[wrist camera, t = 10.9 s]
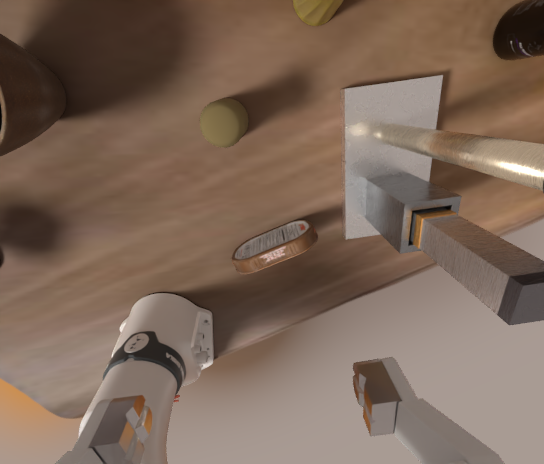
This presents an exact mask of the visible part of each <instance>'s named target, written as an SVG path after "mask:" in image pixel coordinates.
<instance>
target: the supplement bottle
mask: <svg viewBox="0 0 544 464" xmlns="http://www.w3.org/2000/svg"><path fill="white" fill-rule="evenodd" d="M493 47H494V50H495V53H496V54H497V55H498V56H499V57H500V58H501V59H504V60H517V59H523V58H530V57H536V56H542V55H544V0H525V1H522V2H520V3H518V4H516V5H514V6H513V7H512V8H510V9H509V10H508V11H507V12H506V13H505V14H504V15H503V17H502V18H501V19H500V21H499V23H498V25H497V27H496V29H495V32H494V36H493Z"/></svg>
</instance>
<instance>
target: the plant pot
mask: <svg viewBox="0 0 544 464" xmlns="http://www.w3.org/2000/svg"><path fill="white" fill-rule="evenodd" d="M66 102H67V101H66V93H65V90H64V88H63V85H62V84H61V82H60V80H59V79H58V78H57V76H56V75H55V74H54V73H53V72H52V71H51V70H50V69H48V68H47V67H46V66H45V65H44V64H43V63H41V62H40V61H39V60H38V59H36V58H35V57H34V56H32V55H31V54H30V53H28V52H27V51H26V50H24V49H23V48H21V47H20V46H18V45H17V44H16V43H14V42H13V41H11V40H9V39H8V38H6V37H5V36H3V35H2V34H0V156H2V155H5V154H7V153H9V152H11V151H13V150H15V149H17V148H19V147H21V146H23V145H25V144H26V143H28V142H30V141H32V140H33V139H35V138H36V137H38V136H39V135H41V134H42V133H43V132H45V131H46V130H47V129H48V128H50V127H51V126H52V125H53V124H54V123H55V122H56V121H57V120H58V119H59V118H60V116H61V115H62V114H63V112H64V111H65V108H66Z"/></svg>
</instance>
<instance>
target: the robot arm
mask: <svg viewBox="0 0 544 464" xmlns="http://www.w3.org/2000/svg"><path fill="white" fill-rule="evenodd" d="M206 320H207V321H206ZM120 331H121V334H120V337H119V339H118V341H117V343H116V346H115V348H114V351H113V353H112V359H111V361H109V363H108V365H107V367H106V370H105V373H104V375H103V382H102V384H101V386H100V388H99V389H98V391H97V393H96V395H95V397H94V399H93V401H92V402H91V404H90V406H89V408H88V410H87V412H86V414H85V415H84V417H83V419H82V422H81V425H80V429H79V438H78V440H77V442H76V444H75V446H74V448H73V450H72V451H68V452H67V453H66V454H65V455H64V456H63V457H62V458H61V459H60V460H58V462H56V463H55V464H168V462H167V453H166V441H167V432H168V426H169V421H170V415H171V411H172V406H173V402H177V401H179V400H174V399H175V398H178V397H180V395H176V394H177V393H178V391H179V389H180V387H181V386H184V385H188V384H190V383H192V382H194V381H196V380H197V378H199V376H200V372H201V370H202V369H204V368H206V367H208V366H210V365H211V364H212V363H213V360H214V347H213V319H212V313H211V312H210V311H209V310H206V309H203V308H200V307H197V306H196V305H194V304H193V303H192V302H190V301H189V300H187V299H185V298H183V297H181V296H178V295H174V294H168V293H157V294H151V295H148V296H146V297H143V298H142V299H140V300H139V301H137V302H136V303H135V305H134V306H133V308H132V310H131V312H130V315H129V317H128V318H127V319H126V320H124V321H123V322H122V324H121V326H120ZM353 371H354V373H355V375H354V376H353V385H354V391H355V394H356V398H357V400H358V403H359V405H361V406H362V407H363V417H364V420H365V423H366V426H367V428H368V431H369V434H370V436H377V435H385V434H393V433H394V435H395V436H396V437H397V438H398V439H399V440H400V441H401V442H402V443H403V444H404V446H405V447H406V448H407V449H408V450H409V451H410V452H411V453H412V454H413V455H414V456H415V457H416V458H417V459H418V460H419V461H420V462H421V463H422V464H504V462H503V461H502V459H501V458H500V457H499V455H498V454H496V453H495V452H494V451H493V450H491V449H490V448H489V447H487V446H486V445H485V444H483V443H482V442H481V441H479V440H478V439H476V438H475V437H474V436H472V435H471V434H469V433H468V432H467V431H466V430H464V429H463V428H462V427H460V426H459V425H457V424H456V423H454V422H453V421H452V420H451V419H449V418H448V417H447V416H445V415H444V414H443V413H441V412H440V411H438V410H437V409H436V408H434V407H433V406H431V405H430V404H429V403H428V402H426V401H425V400H423V399H418V398H417V396H416V395H415V393H414V391H413V390H412V388H411V386H410V384H409V382H408V381H407V379H406V377H405V376H404V374H403V372H402V370H401V368H400V367H399V365H398V363H397V362H396V360H395V359H394V358H393V357H389V358H384V359H374V360H368V361H362V362H356V363H354V364H353Z"/></svg>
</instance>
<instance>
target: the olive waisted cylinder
mask: <svg viewBox="0 0 544 464" xmlns="http://www.w3.org/2000/svg"><path fill="white" fill-rule="evenodd" d="M248 124H249V123H248V114H247V111H246V110H245V108H244V107H243V105H242V104H241V103H239V102H238V101H237V100H234V99H231V98H223V99H220V100H217V101H214V102H211V103H210V104H208V105H207V106H206V107H205V108H204V110H203V111H202V113H201V117H200V129H201V131H202V134H203V136H204V137H205V138H206V139H207V141H208V142H210V143H211V144H213V145H214V146H217V147H230V146H233V145H234V144H236V143H237V142H238V141H239V140H240V138H241V137H242V136H243V135H244V134H245V132H246V131H247V128H248Z"/></svg>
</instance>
